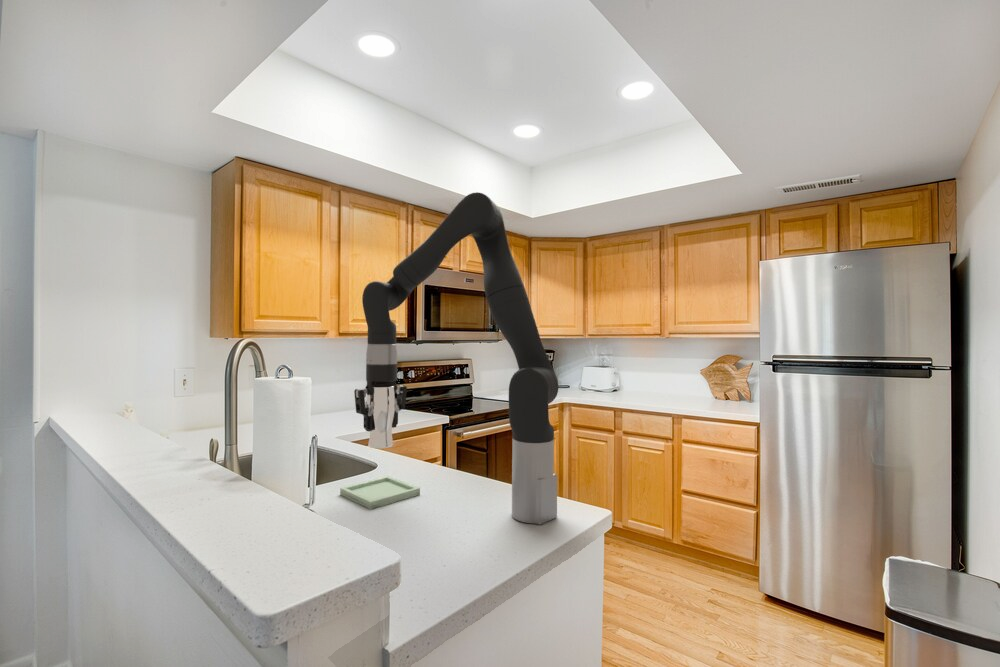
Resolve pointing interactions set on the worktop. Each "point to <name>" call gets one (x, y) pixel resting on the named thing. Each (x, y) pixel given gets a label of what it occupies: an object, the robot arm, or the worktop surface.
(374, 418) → the beer glass
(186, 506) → the worktop surface
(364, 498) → the tray
